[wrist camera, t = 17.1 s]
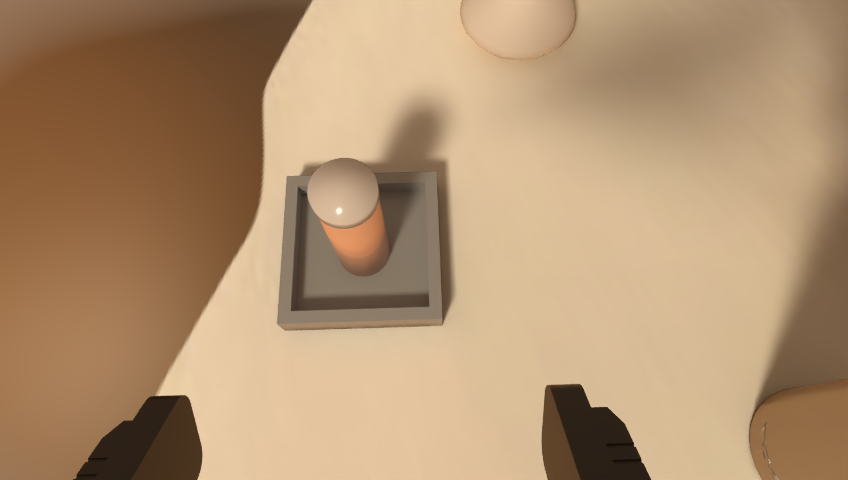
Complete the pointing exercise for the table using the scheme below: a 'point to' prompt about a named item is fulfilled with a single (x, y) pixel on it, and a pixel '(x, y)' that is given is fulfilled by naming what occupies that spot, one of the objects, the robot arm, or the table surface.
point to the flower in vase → (518, 26)
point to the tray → (371, 295)
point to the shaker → (351, 214)
